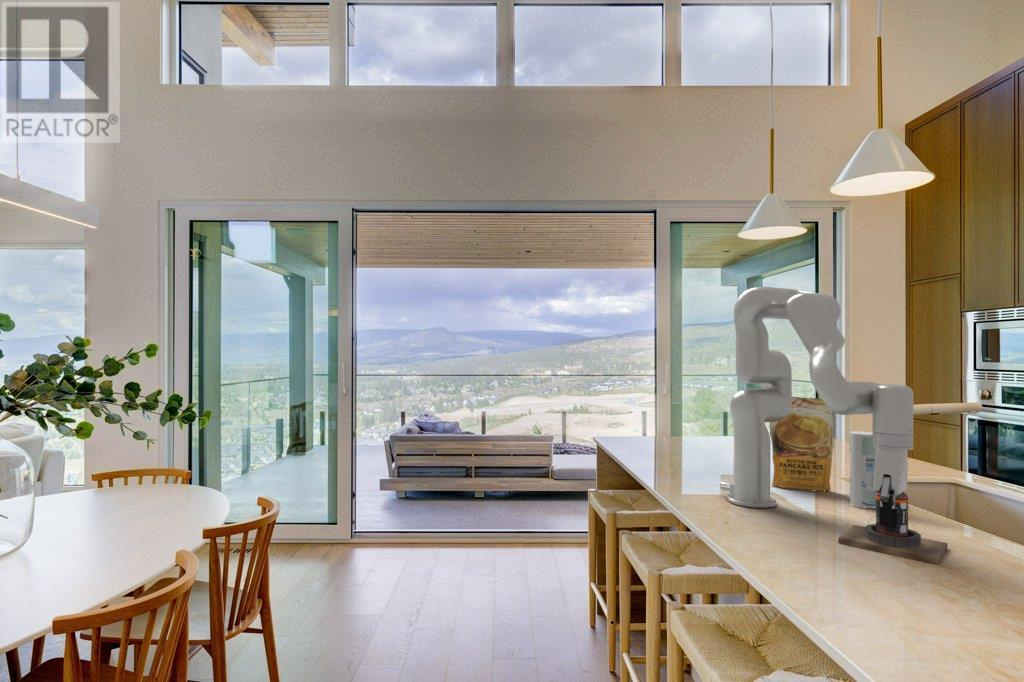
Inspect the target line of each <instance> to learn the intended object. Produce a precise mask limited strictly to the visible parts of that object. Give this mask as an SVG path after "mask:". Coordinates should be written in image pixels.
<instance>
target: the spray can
mask: <svg viewBox="0 0 1024 682" xmlns="http://www.w3.org/2000/svg"><path fill="white" fill-rule="evenodd" d="M872 438H873V432H871V431H859V430H858V431H855V430H853V431H852V430H851V431H850V432H849V504H852V505H855V506H859V507H866V508H874V507H876V493H875V492H874V491H873V480H874V463H875V453H876V448H877V447H873V446H872ZM852 505H851V506H852ZM874 509H875V508H874Z"/></svg>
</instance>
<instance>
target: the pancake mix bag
mask: <svg viewBox="0 0 1024 682" xmlns="http://www.w3.org/2000/svg"><path fill="white" fill-rule="evenodd" d="M834 416H835V413H834V412H833V411H831V410H830V409H829V408H828V407H827V406H826V405H825V403H824V402H823V401H822V399H821V397H818V398H817V397H816V398H815V397H813V398H812V397H801V396H792V405H791V410H790V413H789V415H788V416H787V417H786V418H785V419H783V420H781V421H776V422H768V423H769V435H770V442H771V447H772V449H771V450H772V463H773V478H772V483H771V486H772V487H776V486H778V487H777V488H779V487H781V488H780V489H785V488H788V489H789V490H795V489H802V490H801V491H808V490H816V491H815V492H820V491H824V490H831V491H832V488H831V483H830V479H831V475H832V474H831V473H832V472H831V471H832V463H833V453H834V452H833V451H834V445H835V443H834V438H835V418H834ZM788 489H787V490H788ZM824 492H825V491H824Z"/></svg>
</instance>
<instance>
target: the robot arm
mask: <svg viewBox="0 0 1024 682" xmlns="http://www.w3.org/2000/svg"><path fill="white" fill-rule="evenodd" d="M841 310H842V309H841V306H840V303H839V302H838V300H837V299H836V298H835V297H833V296H832V295H829V294H826V293H819V292H810V291H805V290H799V289H793V288H783V287H773V286H755V287H751V288H748V289H746V290H744V291H743V292H742V293H741V294H740V295H739V296H738V298H737V299H736V302H735V303H734V306H733V322H734V329H735V373H736V376H737V378H738V380H739V381H741V382H742V383H745V384H751V385H752V384H753V385H754V384H755V385H757V384H758V385H760V384H761V387H759V388H746V389H741V390H739V391H737V392H736V393H734V394H733V396H732V397H731V399H730V403H729V404H730V405H729V407H730V408H729V409H730V415H731V420H732V428H733V482H731V483H728V482H723V481H721V482H720V484H719V489H720V490H721V491H726V492H728V493H729V494H728V495H727V501H728V502H730V503H731V504H734V505H737V506H741V507H747V508H755V509H767V508H768V507H769V508H774V507H776V506H777V500H776V498H774V497H772V496H771V435H770V431H768V427H767V426H766V423H769V422H776V421H781V420H783V419H785V418H786V417H787V416H788V415H789V413H790V410H791V405H792V397H793V396H792V394H793V393H792V392H793V391H792V390H793V389H792V385H793V383H792V379H793V378H792V377H793V376H792V375H793V373H792V366H791V362H790V360H789V359H788V357H787V356H786V355H785V354H784V353H783V352H781V351H779V350H775V349H774V350H773V349H769V333H768V330H767V327H766V325H765V323H764V321H763V320H764V319H779V320H781V319H782V320H788V321H789V323H790V324H791V326H792V327H793V329H794V331H795V332H796V334H797V335H798V337H799V339H800V340H801V343H802V344H803V346H804V347H805V349H806V350H807V352H808V354H809V364H808V366H809V367H808V368H809V377H810V381H811V383H812V385H813V387H814V389H815V391H816V392H817V394H818V396H819V398H821V399H822V401H823V402H824V403H825V405H826V406H827V407H828V408H829V409H830V410H831V411H833V412H834V414H836V415H841V416H851V415H854V416H855V415H869V414H870V415H871V414H872V433H873V438H872V446H873V447H877V448H876V453H875V463H874V480H873V491H874V492H875V493H878V492H879V491H880V490H881V498H880V525H882V526H887V527H893V528H896V527H897V511H898V509H896V499H897V496H898V495H900V494H901V493H902V492H904V493H905V492H906V490H907V488H908V487H907V486H908V476H909V475H908V472H909V471H908V470H909V469H908V466H909V465H908V464H909V463H908V451H913V450H914V390H913V389H912V387H910V386H908V385H905V384H904V385H902V384H881V383H878V382H873V381H872V382H871V381H847V379H846V378H845V377H844V375H843V373H842V372H841V371H840V368H839V366H838V364H837V361H836V354H837V353H838V352H839V351H840V350H841V349H842V348H843V347H844V346H845V343H846V339H845V337H844V335H843V334H842V332H841V331H840V329H839V328H838V326H837V325H836V323H837V322H838V320H839V319H840V317H841V315H842V314H841ZM881 486H882V487H881ZM889 491H892V492H894V494H891V493H889ZM889 497H893V500H892V499H891V498H889Z"/></svg>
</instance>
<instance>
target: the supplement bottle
mask: <svg viewBox="0 0 1024 682" xmlns="http://www.w3.org/2000/svg"><path fill="white" fill-rule="evenodd" d="M881 487H882V486H881ZM889 493H891V494H894V492H892V491H889ZM880 498H881V490H880V491H879V492H878V493H876V508H875V524H876V530H877V532H879V533H881V534H885V535H890V536H896V537H906V536H907V535H908V529H909V496H908V495H907V493H905V491H904V492H902V493H901V494H900V495H898V496H897V499H896V509H898V511H897V527H896V528H893V527H887V526H882V525H880ZM889 498H891V499H892V500H893V497H889Z"/></svg>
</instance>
